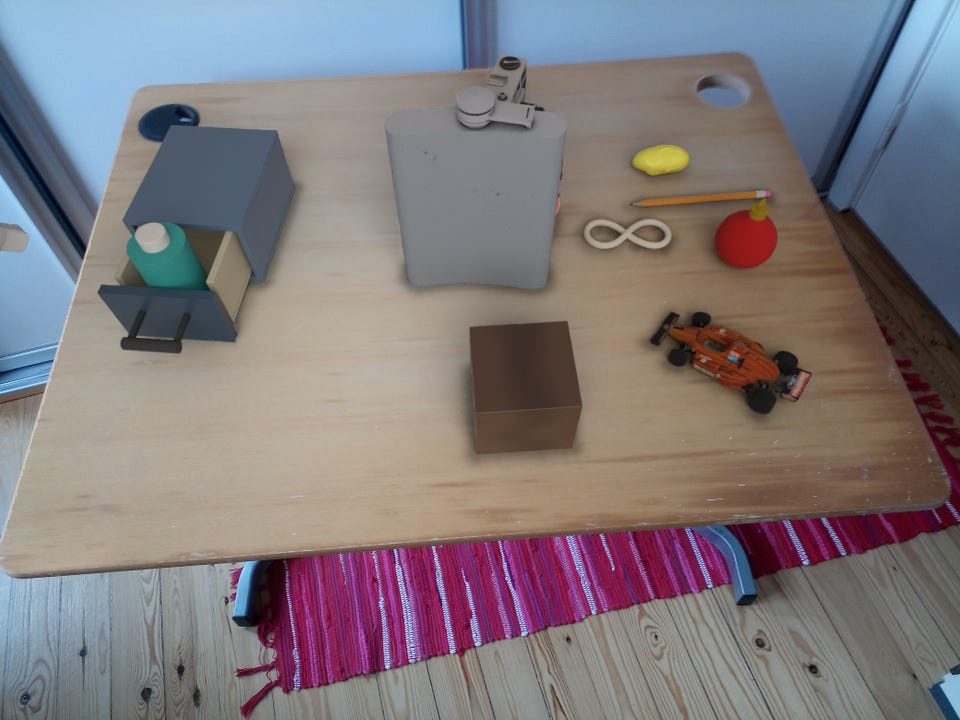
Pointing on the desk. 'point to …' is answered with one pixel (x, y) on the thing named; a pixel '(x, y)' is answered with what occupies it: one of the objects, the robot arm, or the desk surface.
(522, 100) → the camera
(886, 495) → the desk surface
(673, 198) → the pencil
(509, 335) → the stand
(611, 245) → the decorative object
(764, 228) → the christmas ornament
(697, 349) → the toy car
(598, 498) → the desk surface
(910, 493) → the desk surface
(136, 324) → the drawer
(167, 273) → the detergent bottle
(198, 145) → the cabinet
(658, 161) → the lemon
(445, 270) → the flask
